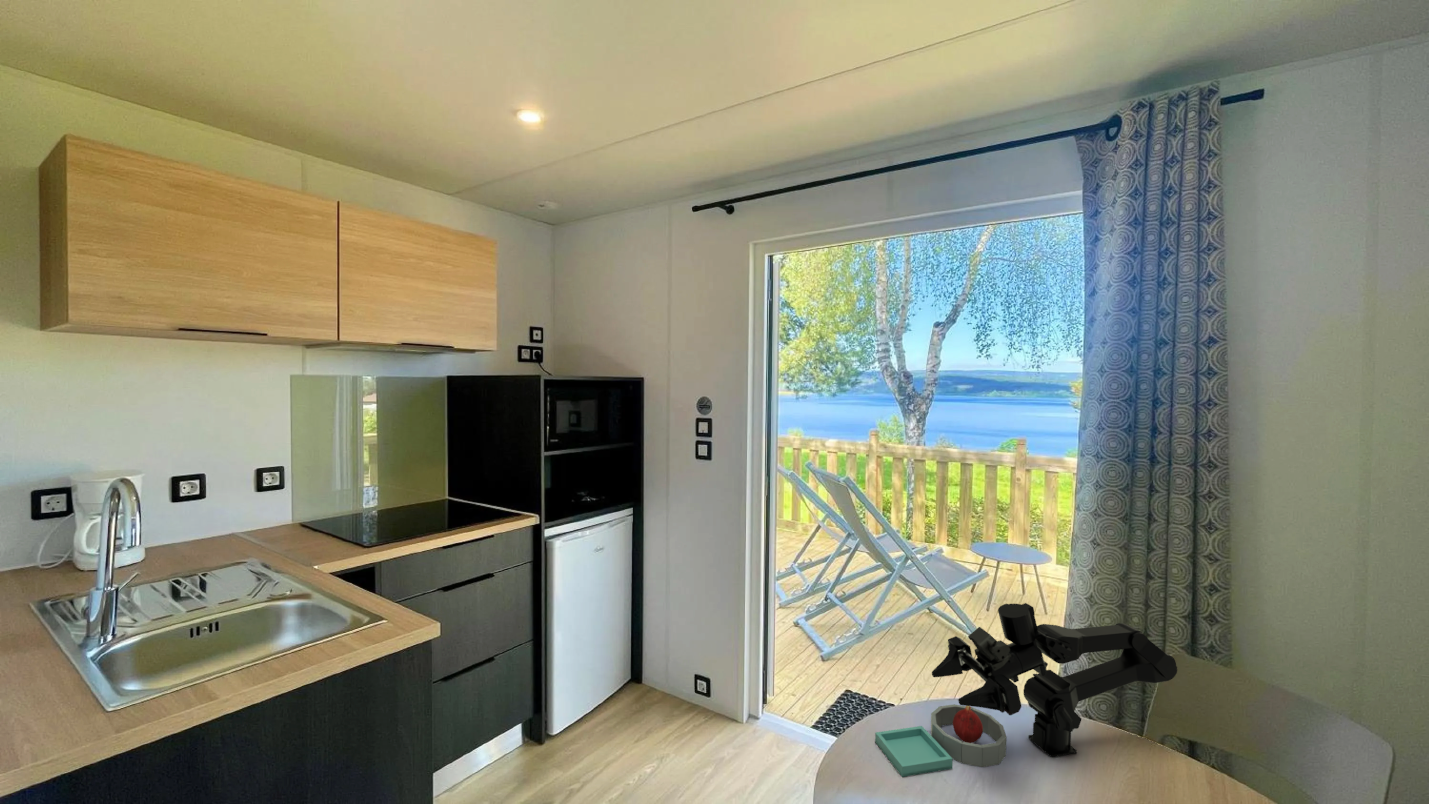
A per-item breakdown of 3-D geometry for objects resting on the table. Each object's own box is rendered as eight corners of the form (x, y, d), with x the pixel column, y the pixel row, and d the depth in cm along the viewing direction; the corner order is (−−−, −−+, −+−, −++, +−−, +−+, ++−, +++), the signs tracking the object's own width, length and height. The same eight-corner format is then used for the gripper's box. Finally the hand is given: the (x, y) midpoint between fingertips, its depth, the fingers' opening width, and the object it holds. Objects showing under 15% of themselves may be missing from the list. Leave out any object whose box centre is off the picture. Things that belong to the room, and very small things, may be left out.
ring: (974, 718, 128) (974, 701, 128) (1020, 760, 114) (1021, 741, 114) (918, 726, 125) (918, 709, 125) (958, 770, 111) (959, 751, 111)
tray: (921, 735, 122) (921, 725, 122) (952, 768, 112) (952, 758, 112) (875, 741, 120) (875, 732, 120) (902, 776, 109) (902, 766, 109)
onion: (985, 753, 116) (986, 716, 116) (955, 750, 117) (956, 712, 117) (978, 736, 122) (979, 700, 121) (949, 732, 123) (950, 696, 123)
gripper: (975, 604, 124) (912, 629, 122) (1038, 649, 106) (965, 680, 104) (985, 649, 126) (923, 674, 123) (1049, 701, 108) (977, 732, 105)
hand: (945, 687), depth 114 cm, fingers open, 9 cm apart
